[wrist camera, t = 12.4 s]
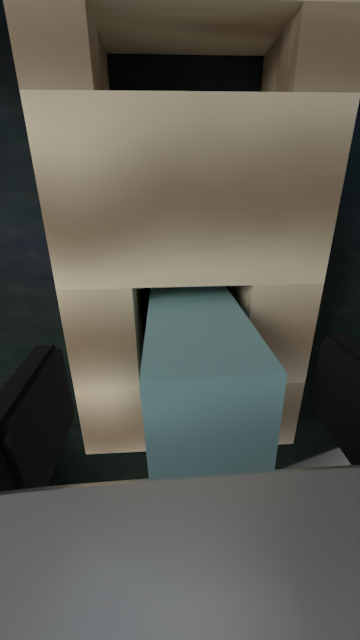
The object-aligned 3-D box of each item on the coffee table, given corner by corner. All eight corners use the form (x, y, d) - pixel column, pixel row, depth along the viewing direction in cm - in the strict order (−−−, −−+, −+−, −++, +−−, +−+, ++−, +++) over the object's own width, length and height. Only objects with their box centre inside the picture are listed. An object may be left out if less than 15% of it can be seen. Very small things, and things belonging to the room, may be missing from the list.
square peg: (151, 281, 17) (138, 382, 8) (219, 277, 17) (287, 373, 8) (155, 342, 18) (149, 487, 9) (218, 338, 19) (273, 477, 9)
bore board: (24, -115, 11) (-48, -276, 7) (340, -101, 11) (425, -243, 8) (99, 407, 20) (85, 454, 16) (270, 399, 21) (293, 443, 17)
